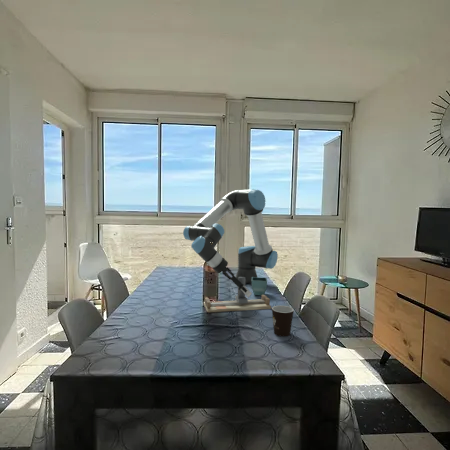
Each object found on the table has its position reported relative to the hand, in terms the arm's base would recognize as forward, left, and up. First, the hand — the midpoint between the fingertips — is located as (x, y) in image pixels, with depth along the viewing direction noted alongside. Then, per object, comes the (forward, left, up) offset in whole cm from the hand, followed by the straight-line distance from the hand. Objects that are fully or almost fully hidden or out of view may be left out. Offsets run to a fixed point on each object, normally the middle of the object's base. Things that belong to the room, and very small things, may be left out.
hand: (248, 294), depth 163 cm
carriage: (0, -4, -3) cm, 5 cm away
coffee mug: (+34, +4, -6) cm, 35 cm away
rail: (0, -6, -6) cm, 9 cm away
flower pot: (-19, +12, -6) cm, 23 cm away
